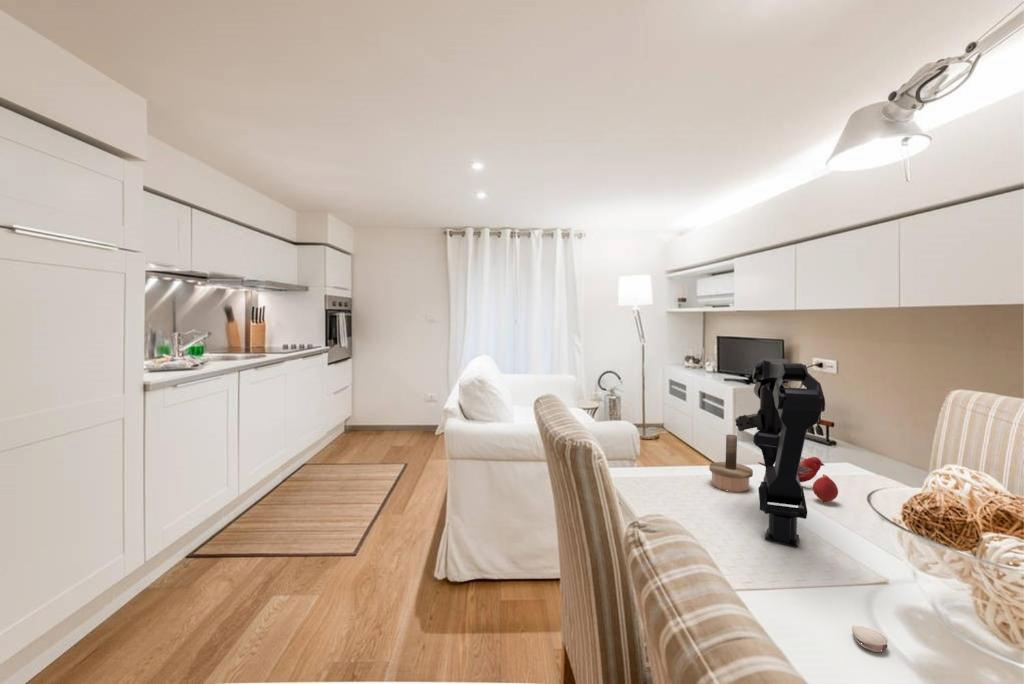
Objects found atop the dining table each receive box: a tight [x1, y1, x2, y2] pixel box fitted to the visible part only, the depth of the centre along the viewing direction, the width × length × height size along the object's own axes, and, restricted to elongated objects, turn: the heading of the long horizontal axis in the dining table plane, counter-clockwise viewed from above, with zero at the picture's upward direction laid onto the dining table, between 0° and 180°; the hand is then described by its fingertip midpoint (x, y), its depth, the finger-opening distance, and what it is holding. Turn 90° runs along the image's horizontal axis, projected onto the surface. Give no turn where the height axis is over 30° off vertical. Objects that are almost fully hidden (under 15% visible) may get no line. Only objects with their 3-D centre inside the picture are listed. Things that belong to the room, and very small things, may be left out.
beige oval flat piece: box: [851, 625, 888, 653], centre depth 71 cm, size 4×5×2 cm
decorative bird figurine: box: [757, 456, 825, 488], centre depth 139 cm, size 3×18×10 cm, turn 64°
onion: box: [812, 473, 839, 503], centre depth 127 cm, size 6×6×8 cm
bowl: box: [711, 472, 750, 493], centre depth 139 cm, size 10×10×4 cm
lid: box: [708, 434, 754, 479], centre depth 138 cm, size 12×12×11 cm
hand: (770, 465), depth 118 cm, fingers open, 9 cm apart
